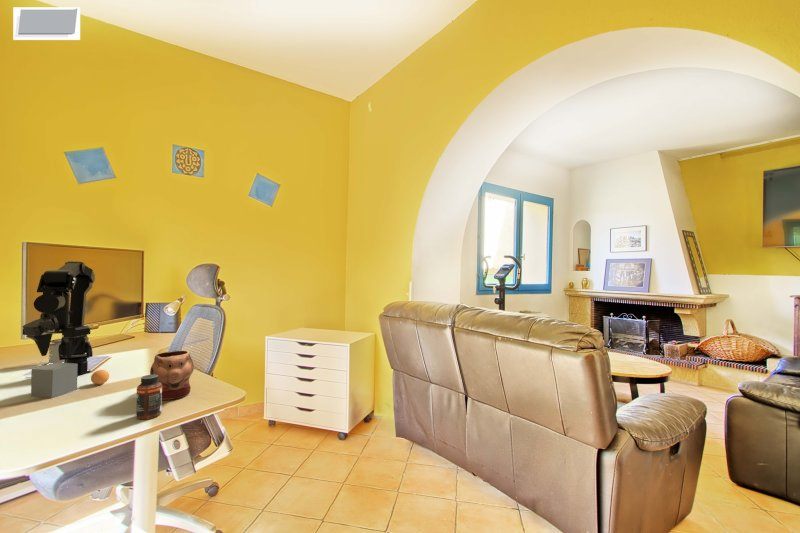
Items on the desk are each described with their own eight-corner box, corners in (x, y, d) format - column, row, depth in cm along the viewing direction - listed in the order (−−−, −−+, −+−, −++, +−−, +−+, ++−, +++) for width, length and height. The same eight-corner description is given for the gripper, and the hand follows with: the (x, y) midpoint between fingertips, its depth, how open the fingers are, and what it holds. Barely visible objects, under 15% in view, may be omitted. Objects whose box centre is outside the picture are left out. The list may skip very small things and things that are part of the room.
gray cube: (31, 396, 113) (31, 368, 113) (56, 388, 121) (57, 362, 121) (52, 398, 113) (52, 370, 113) (76, 389, 120) (77, 363, 120)
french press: (40, 367, 143) (41, 305, 143) (54, 359, 154) (55, 302, 154) (71, 365, 147) (72, 304, 147) (83, 358, 158) (84, 301, 158)
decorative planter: (144, 390, 122) (145, 349, 122) (184, 382, 130) (185, 344, 130) (156, 407, 107) (157, 361, 107) (201, 398, 116) (202, 355, 116)
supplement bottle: (166, 412, 105) (167, 373, 104) (150, 421, 99) (151, 380, 99) (147, 410, 105) (148, 372, 105) (130, 419, 99) (131, 378, 99)
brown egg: (86, 386, 124) (87, 371, 124) (100, 381, 129) (100, 367, 129) (99, 386, 123) (99, 372, 123) (112, 382, 128) (113, 368, 128)
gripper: (2, 311, 110) (1, 361, 110) (56, 313, 108) (55, 365, 108) (42, 306, 121) (41, 352, 121) (92, 309, 119) (91, 355, 119)
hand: (56, 356), depth 117 cm, fingers open, 9 cm apart
